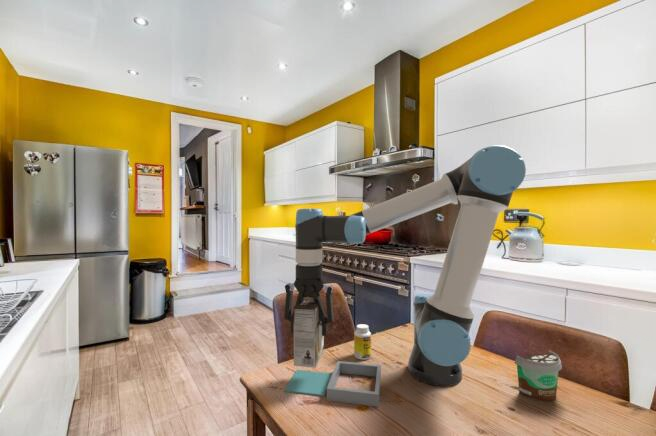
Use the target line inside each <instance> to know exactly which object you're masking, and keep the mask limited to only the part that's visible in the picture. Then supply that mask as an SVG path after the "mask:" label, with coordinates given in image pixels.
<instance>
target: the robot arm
mask: <svg viewBox="0 0 656 436" xmlns="http://www.w3.org/2000/svg"><path fill="white" fill-rule="evenodd" d="M526 172H527V168H526V164H525V161H524V159H523V157H522V156H521V155H520V153H518V151H516V150H515V149H513V148H511V147H509V146H507V145H500V144H499V145H498V144H497V145H496V144H495V145H489V146H487V147H483V148H481V149H479V150H478V151H476V152H474V154H473V155H472V157H470V158H469V159H467V160H466V161H465V162H464V163H461V165H459V166H458V167H456V168H454V169H452V170H451V171H449V172H446V173H443V174H442V177H441V178H440V179H437V180H435V181H433V182H430V183H427V184H425V185H423V186H420V187H417V188H415V189H412V190H410V191H407V192H406V193H402V194H400V195H398V196H395V197H393V198H391V199H388V200H385V201H383V202H380V203H377V204H376V205H372V206H370V207H368V208H366V209H363V210H361V211H358V212H355V213H353V214H350V215H324V214H323V210H322V209H321V208H299V209H297V210H296V214H295V224H294V227H295V263H296V264H295V280H294V282H292V283H291V282H288V283H287V284H285V286H284V290H285V305H284V307H285V308H284V315H283V317H284V320H286V321H289V322H290V333H291V334H294V309H293V297H294V290H295V289H296V291H297V292H298V295H297V297H296V302H295V305H296V304H298V303H301V302H302V301H303V299H305V298H309V299H313V300H314V302H315V304H316V305H319V317H320V320H321V323H320V324H319V349H322V347H323V348H324V345H325V342H324V340H325V337H326V336H327V334H328V324H332V322H334V320H335V316H334V313H335V312H334V304H333V290H334V285H332V284H330V285H329V284H325V281H324V280H323V264H322V262H323V243H324V244H325V243H326V244H328V243H330V244H333V243H334V244H350V245H354V244H363V243H365V241H366V236H367V235H370V234H372V233H374V232H377V231H380V230H383V229H385V228H388V227H390V226H392V225H396V224H398V223H401V222H404V221H406V220H410V219H412V218H414V217H417V216H420V215H423V214H426V213H428V212H430V211H433V210H437V209H438V208H441V207H443V206H446V205H449V204H452V205H459V204H460V208H459V211H458V215H457V218H456V221H455V225H454V227H453V231H452V234H451V237H450V242H449V244H448V247H447V250H446V254H445V258H444V260H443V264H442V267H441V271H440V275H439V277H438V280H437V284H436V287H435V290H434V293H418V294H417V295H414V299H413V347H412V350H411V352H410V355H409V358H408V367H407V368H408V372H409V373H410V375H411V376H412V377H414V378H415V379H416V380H418V381H420V382H422V383H424V384H425V383H426V384H429V385H433V386H439V387H448V386H453V385H458V383H460V382H461V381H462V380H463V368H462V365H461V363H462V362H464V361H465V360H466V359H467V358H468V357H469V354H470V351H471V345H472V344H471V337H470V335H469V334H470V330H471V327H472V324H473V322H474V317H475V315H474V313H473V311H472V309H471V303H472V300H473V297H474V294H475V291H476V287H477V285H478V281H479V278H480V275H481V272H482V268H483V266H484V262H485V258H486V255H487V252H488V249H489V246H490V243H491V239H492V237H493V233H494V230H495V226H496V223H497V221H498V220H497V219H498V217H499V214H501V213H502V212H504V211H506V210H508V209H509V206H510V204H511V199H512V196H513V193H514V192H515V191H516V190H517V189H518V188H519V187H520V186H521V185H522V183H523V182H524V179H525V177H526ZM322 290H324V291H323V292H324V294H325V304H326V309H325V307H324V303H323V304H322V301H321V299H322V297H321V294H320V293H321V291H322ZM295 305H294V306H295ZM292 309H293V311H292Z"/></svg>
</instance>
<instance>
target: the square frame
mask: <svg viewBox="0 0 656 436" xmlns="http://www.w3.org/2000/svg"><path fill="white" fill-rule="evenodd" d="M332 371H333V372H332V373H333V374H332V376H331V379H330V382H329V384H328V387H327V391H326V401H328V402H336V403H347V404H353V405H362V406H369V407H377V408H379V407H380V395H381V394H380V393H381V384H382V365H380V364H373V363H372V364H370V363H360V362H352V361H351V362H350V361H339V360H337V361H336V364H335V366H334V369H333V370H332ZM340 374H347V375H355V376H356V375H357V376H363V377H365V376H366V377H373V378H374V377H376V378H375V385H374V387H375V388H374V391H372V390H371V391H370V390H362V389H353V388H345V387H337V383H338V380H339V378H340Z"/></svg>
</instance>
